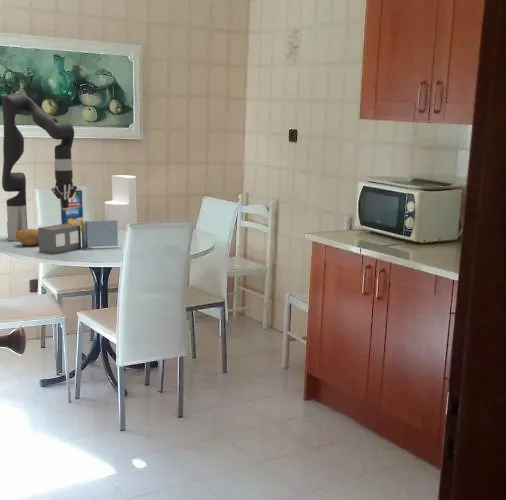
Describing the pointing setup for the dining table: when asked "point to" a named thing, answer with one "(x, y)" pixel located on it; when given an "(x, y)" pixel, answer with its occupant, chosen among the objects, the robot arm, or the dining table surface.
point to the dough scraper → (99, 233)
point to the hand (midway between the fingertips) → (65, 208)
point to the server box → (60, 238)
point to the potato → (28, 237)
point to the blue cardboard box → (73, 210)
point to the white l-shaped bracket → (122, 201)
